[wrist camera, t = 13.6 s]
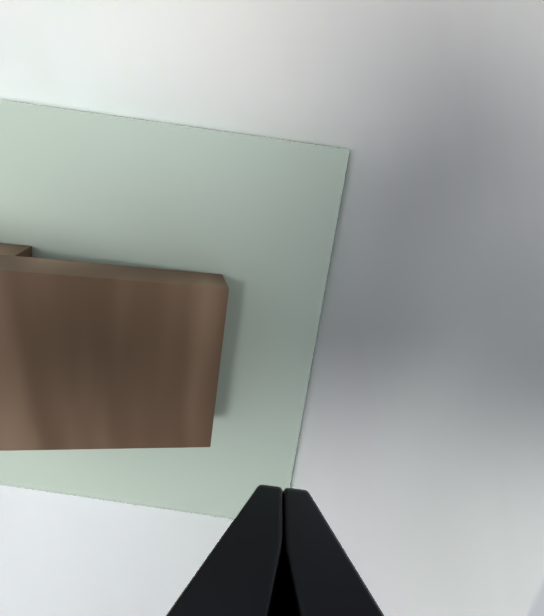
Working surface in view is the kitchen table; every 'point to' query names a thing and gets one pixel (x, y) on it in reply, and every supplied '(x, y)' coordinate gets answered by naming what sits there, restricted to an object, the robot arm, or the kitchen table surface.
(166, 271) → the domino
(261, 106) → the kitchen table surface
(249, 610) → the robot arm
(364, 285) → the kitchen table surface
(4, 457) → the sage board
